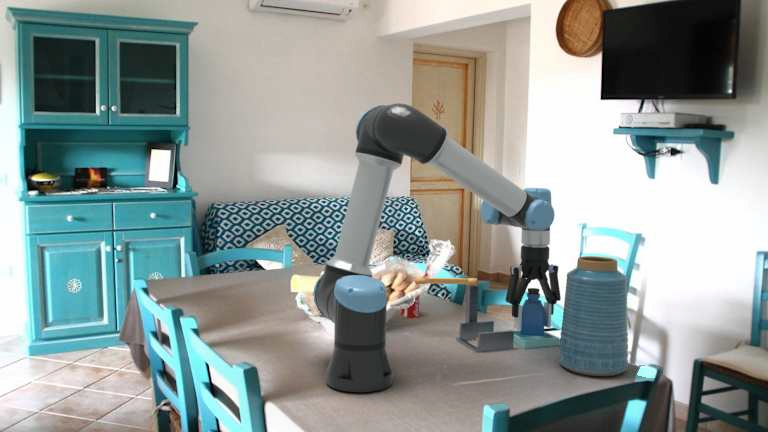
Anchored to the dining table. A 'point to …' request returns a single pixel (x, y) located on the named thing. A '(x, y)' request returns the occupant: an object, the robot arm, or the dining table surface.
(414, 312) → the beverage can
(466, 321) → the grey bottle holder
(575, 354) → the vase
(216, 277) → the dining table surface
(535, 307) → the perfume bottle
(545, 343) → the tray
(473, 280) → the bar
